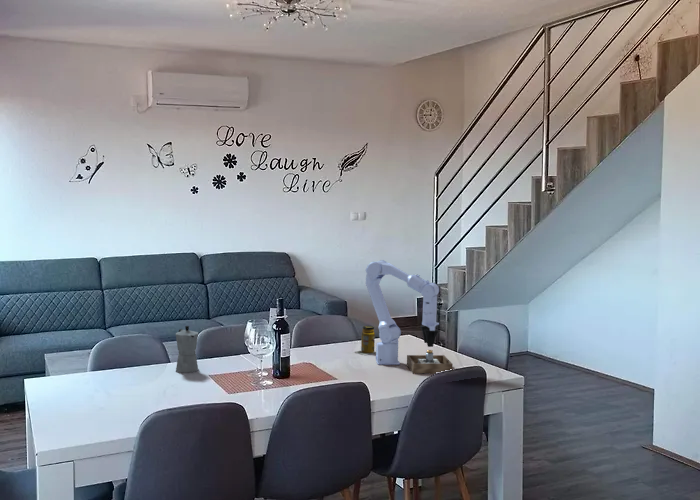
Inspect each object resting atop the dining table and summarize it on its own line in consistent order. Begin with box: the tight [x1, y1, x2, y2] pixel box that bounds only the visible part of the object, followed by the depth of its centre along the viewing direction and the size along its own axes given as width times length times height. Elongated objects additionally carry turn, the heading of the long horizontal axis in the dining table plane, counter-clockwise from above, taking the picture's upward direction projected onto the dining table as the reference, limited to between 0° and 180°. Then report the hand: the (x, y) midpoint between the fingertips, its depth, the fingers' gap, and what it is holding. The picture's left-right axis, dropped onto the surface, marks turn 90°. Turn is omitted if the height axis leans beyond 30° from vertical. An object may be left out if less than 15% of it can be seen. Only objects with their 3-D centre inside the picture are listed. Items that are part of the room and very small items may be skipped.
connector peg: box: [425, 349, 434, 363], centre depth 292 cm, size 3×3×7 cm
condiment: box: [354, 325, 376, 356], centre depth 320 cm, size 7×8×12 cm
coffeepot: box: [175, 325, 199, 374], centre depth 282 cm, size 15×9×18 cm, turn 33°
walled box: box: [406, 354, 454, 375], centre depth 292 cm, size 16×16×4 cm
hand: (428, 344), depth 293 cm, fingers open, 7 cm apart
